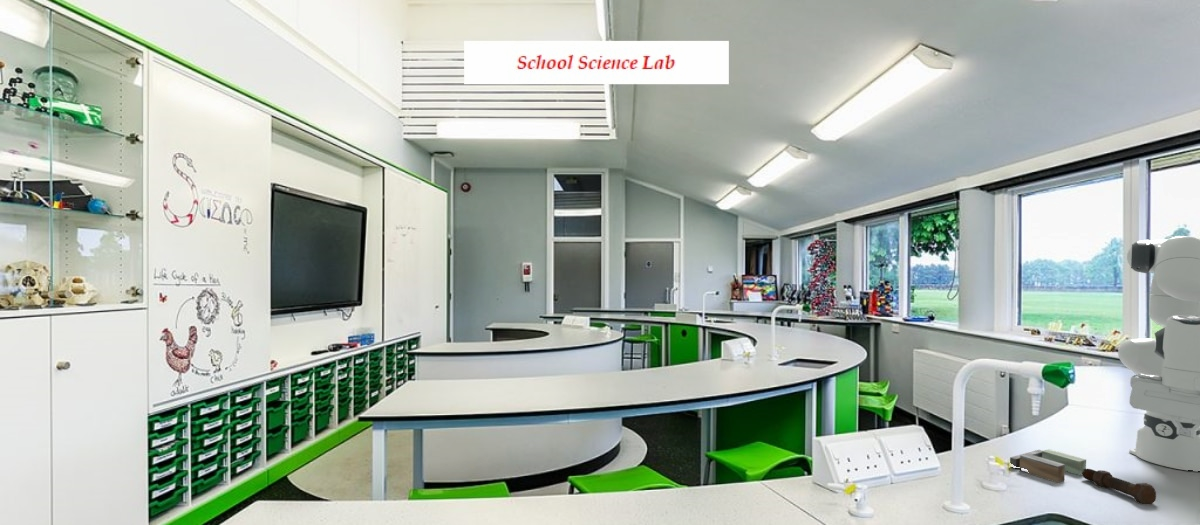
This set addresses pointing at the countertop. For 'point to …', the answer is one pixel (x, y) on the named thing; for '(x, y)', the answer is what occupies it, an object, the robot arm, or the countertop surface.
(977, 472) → the countertop surface
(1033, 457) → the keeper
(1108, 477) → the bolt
